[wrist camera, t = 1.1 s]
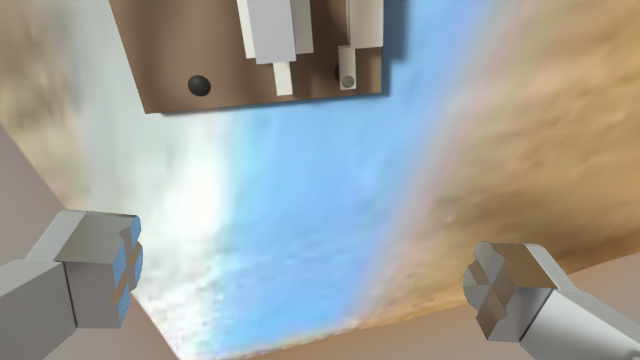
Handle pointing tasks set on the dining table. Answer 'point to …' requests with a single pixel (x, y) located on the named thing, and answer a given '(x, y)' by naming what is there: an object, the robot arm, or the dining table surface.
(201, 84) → the brown board with blocks
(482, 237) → the dining table surface
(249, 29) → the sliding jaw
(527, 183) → the dining table surface
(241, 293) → the dining table surface
